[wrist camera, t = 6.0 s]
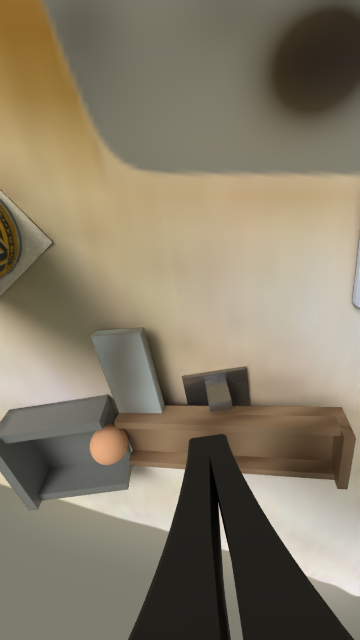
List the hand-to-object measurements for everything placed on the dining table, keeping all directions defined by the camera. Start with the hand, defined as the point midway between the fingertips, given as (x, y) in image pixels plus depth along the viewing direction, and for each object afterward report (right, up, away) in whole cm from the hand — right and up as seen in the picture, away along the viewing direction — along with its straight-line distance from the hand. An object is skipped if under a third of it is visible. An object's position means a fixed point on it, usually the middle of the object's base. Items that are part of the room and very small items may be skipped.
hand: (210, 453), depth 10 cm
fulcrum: (+2, -3, +12) cm, 13 cm away
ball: (-7, -5, +11) cm, 14 cm away
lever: (+2, 0, +9) cm, 9 cm away
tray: (-10, -5, +13) cm, 18 cm away
